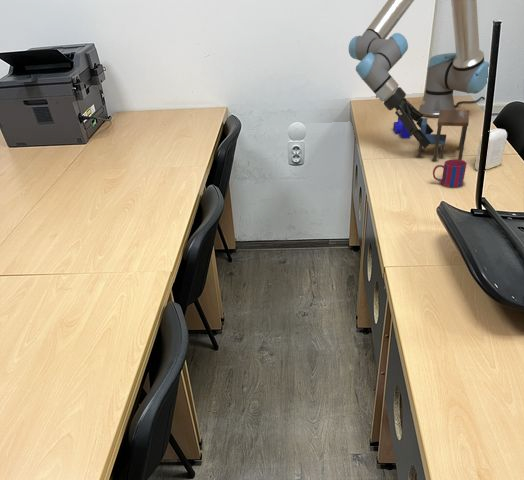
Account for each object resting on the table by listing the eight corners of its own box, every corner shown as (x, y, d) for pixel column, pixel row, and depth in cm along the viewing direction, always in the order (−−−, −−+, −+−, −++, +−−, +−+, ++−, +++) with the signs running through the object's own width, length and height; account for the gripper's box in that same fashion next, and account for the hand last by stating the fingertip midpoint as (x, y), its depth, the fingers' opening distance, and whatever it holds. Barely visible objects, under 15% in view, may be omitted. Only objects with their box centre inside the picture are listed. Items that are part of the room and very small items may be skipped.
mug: (464, 187, 167) (468, 166, 163) (432, 187, 169) (435, 166, 164) (461, 179, 172) (464, 158, 168) (429, 180, 174) (432, 159, 170)
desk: (432, 161, 187) (437, 122, 178) (434, 147, 198) (440, 109, 189) (461, 162, 184) (468, 122, 176) (462, 148, 195) (469, 110, 187)
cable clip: (393, 129, 218) (394, 114, 214) (404, 128, 218) (405, 113, 214) (398, 138, 209) (399, 122, 205) (409, 137, 208) (411, 122, 205)
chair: (417, 157, 191) (421, 124, 184) (419, 150, 197) (422, 118, 189) (442, 158, 188) (448, 125, 181) (443, 151, 194) (448, 118, 187)
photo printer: (492, 161, 183) (499, 124, 175) (502, 164, 180) (510, 127, 172) (472, 169, 179) (479, 131, 171) (482, 172, 176) (490, 134, 168)
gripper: (387, 93, 196) (423, 136, 201) (377, 112, 178) (417, 158, 183) (403, 77, 191) (439, 121, 196) (395, 95, 173) (435, 143, 178)
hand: (429, 139), depth 190 cm, fingers open, 13 cm apart
